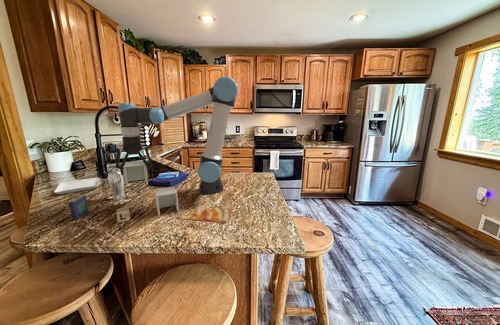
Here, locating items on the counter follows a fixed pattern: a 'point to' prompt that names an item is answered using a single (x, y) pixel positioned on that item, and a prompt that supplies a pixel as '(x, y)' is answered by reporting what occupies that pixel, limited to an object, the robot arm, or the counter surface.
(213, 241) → the counter surface
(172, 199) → the grey mini stool
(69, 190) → the salad plate
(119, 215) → the letter cube
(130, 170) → the sage hood
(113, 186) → the beer glass
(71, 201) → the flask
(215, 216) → the pizza slice
